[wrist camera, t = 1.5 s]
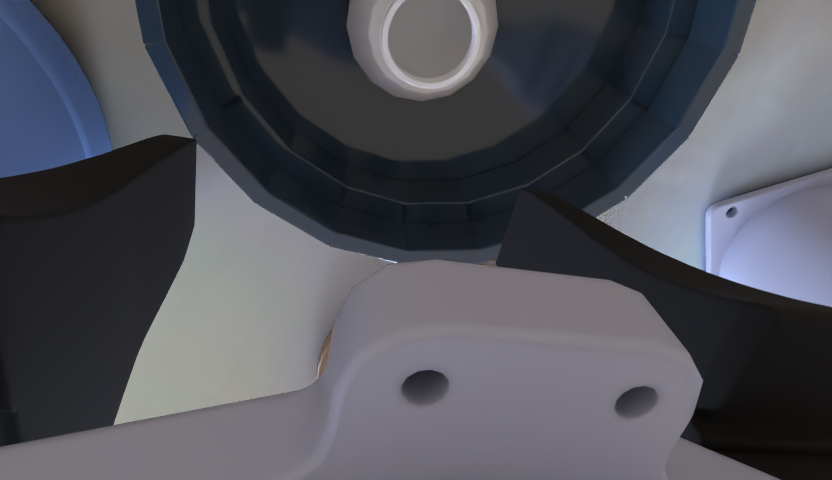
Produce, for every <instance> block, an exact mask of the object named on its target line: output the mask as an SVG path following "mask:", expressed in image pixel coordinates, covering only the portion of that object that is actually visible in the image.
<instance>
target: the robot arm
mask: <svg viewBox="0 0 832 480" xmlns="http://www.w3.org/2000/svg"><path fill="white" fill-rule="evenodd" d="M196 142H197V139H192V138H185V137H178V136H172V135H159V136H155V137H151V138H148V139H145V140H142V141H139V142H136V143H133V144H130V145H127V146H124V147H121V148H119V149H116V150H113V151H110V152H107V153H104V154H101V155H97V156H94V157H91V158H87V159H84V160H80V161H77V162H74V163H70V164H67V165H63V166H59V167H55V168H51V169H46V170H42V171H37V172H32V173H26V174H21V175H15V176H9V177H3V178H0V480H832V168H830V169H827V170H824V171H820V172H817V173H814V174H810V175H807V176H803V177H800V178H797V179H793V180H790V181H787V182H783V183H780V184H776V185H773V186H770V187H766V188H763V189H760V190H756V191H753V192H750V193H746V194H743V195H739V196H736V197H733V198H729V199H726V200H723V201H719V202H716V203H714V204H712V205H711V206H710V207H709V208H708V209H707V211H706V215H705V217H706V272H705V271H703V270H700V269H697V268H695V267H692V266H690V265H687V264H685V263H683V262H681V261H678V260H676V259H674V258H671V257H669V256H667V255H664V254H662V253H660V252H658V251H656V250H654V249H652V248H650V247H648V246H646V245H644V244H642V243H640V242H638V241H636V240H634V239H632V238H630V237H629V236H627V235H625V234H623V233H621V232H619V231H618V230H616V229H614V228H612V227H611V226H609V225H607V224H605V223H604V222H602V221H600V220H598V219H597V218H595V217H593V216H592V215H590V214H588V213H586V212H585V211H583V210H581V209H579V208H578V207H576V206H574V205H572V204H571V203H569V202H567V201H565V200H563V199H561V198H559V197H557V196H555V195H552V194H549V193H546V192H542V191H535V190H528V189H522V188H520V191H519V194H518V197H517V200H516V203H515V206H514V209H513V212H512V215H511V218H510V221H509V224H508V227H507V230H506V233H505V236H504V239H503V242H502V245H501V248H500V251H499V254H498V257H497V260H496V264H497V267H496V266H487V265H479V264H470V263H462V262H454V261H445V260H437V259H434V260H425V261H415V262H406V263H397V264H389V265H388V266H386V267H385V268H383V269H381V270H380V271H378V272H377V273H375V274H373V275H372V276H370V277H368V278H367V279H365V280H364V281H362V282H360V283H359V284H357V285H355V286H354V287H352V289H351V291H350V293H349V295H348V297H347V298H346V300H345V302H344V304H343V306H342V308H341V310H340V311H339V313H338V315H337V317H336V319H335V321H334V326H333V332H332V337H331V343H330V348H329V354H328V359H327V361H326V364H325V367H324V370H323V372H322V374H321V375H320V377H319V378H318V379H317V380H316V382H315V383H313V384H312V385H310V386H308V387H306V388H304V389H302V390H297V391H292V392H287V393H281V394H276V395H271V396H265V397H260V398H255V399H250V400H244V401H239V402H234V403H229V404H223V405H218V406H213V407H207V408H202V409H197V410H192V411H186V412H181V413H176V414H170V415H165V416H160V417H155V418H149V419H144V420H139V421H133V422H128V423H123V424H118V425H113V424H114V421H115V418H116V415H117V412H118V409H119V406H120V403H121V400H122V397H123V394H124V391H125V388H126V386H127V383H128V380H129V377H130V374H131V372H132V369H133V366H134V363H135V360H136V357H137V355H138V352H139V350H140V348H141V345H142V343H143V341H144V338H145V336H146V334H147V332H148V330H149V328H150V326H151V324H152V322H153V320H154V318H155V316H156V314H157V312H158V311H159V309H160V307H161V305H162V303H163V301H164V299H165V297H166V295H167V293H168V291H169V289H170V287H171V285H172V283H173V281H174V279H175V277H176V275H177V273H178V271H179V269H180V267H181V265H182V263H183V260H184V257H185V254H186V251H187V248H188V245H189V242H190V238H191V235H192V232H193V228H194V221H195V182H196ZM731 207H733V208H732V210H731V211H730V212H728V213H727V211H728V210H729V209H730V208H731Z"/></svg>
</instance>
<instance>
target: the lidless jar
mask: <svg viewBox="0 0 832 480" xmlns="http://www.w3.org/2000/svg"><path fill="white" fill-rule="evenodd" d="M346 27H347V31H348V35H349V39H350V43H351V48H352V52H353V56H354V58H355V59H356V61H357V62H358V64H359V65H360V67H361V68H362V69H363V71H364V72H365V74H366V75H367V77H368V78H369V79H370V81H371V82H373V83H374V84H376V85H378V86H379V87H381V88H382V89H384V90H385V91H387V92H388V93H390V94H391V95H393V96H395V97H400V98H406V99H411V100H417V101H427V100H431V99H436V98H440V97H445V96H449V95H451V94H452V93H454V92H455V91H457V90H458V89H460V88H461V87H463V86H464V85H466V84H467V83H469V82H470V81H472V80H473V79H474V78H475V76H476V75H477V74H478V72H479V71H480V69H481V68H482V66H483V65H484V64H485V62H486V61H487V59H488V58H489V57H490V55H491V51H492V48H493V44H494V40H495V36H496V33H497V29H498V17H497V7H496V0H350V3H349V10H348V17H347V24H346Z"/></svg>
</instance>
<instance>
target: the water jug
mask: <svg viewBox="0 0 832 480" xmlns="http://www.w3.org/2000/svg"><path fill="white" fill-rule="evenodd" d="M110 151H112V145H111V141H110V136H109V132H108V129H107V125H106V122H105V119H104V116H103V113H102V110H101V108H100V105H99V103H98V100H97V98H96V96H95V94H94V91H93V89H92V87H91V85H90V83H89V81H88V79H87V78H86V76H85V74H84V72H83V70H82V69H81V67H80V65H79V64H78V62H77V60H76V59H75V57H74V56H73V54H72V53H71V51H70V50H69V48H68V47H67V45H66V44H65V42H64V41H63V40H62V38H61V37H60V36H59V34H58V33H57V32H56V30H55V29H54V28H53V27H52V25H51V24H50V23H49V22H48V21H47V19H46V18H45V17H44V16H43V15H42V14H41V12H40V11H39V10H38V9H37V8H36V7H35V6H34V5H33V4H32V3H31V2H30V1H29V0H0V178H3V177H9V176H15V175H21V174H26V173H32V172H37V171H42V170H46V169H51V168H55V167H59V166H63V165H67V164H70V163H74V162H77V161H80V160H84V159H87V158H91V157H94V156H97V155H101V154H104V153H107V152H110Z"/></svg>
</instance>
